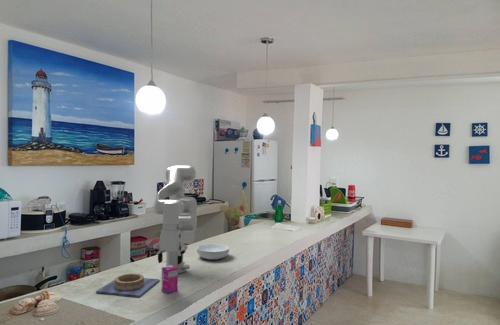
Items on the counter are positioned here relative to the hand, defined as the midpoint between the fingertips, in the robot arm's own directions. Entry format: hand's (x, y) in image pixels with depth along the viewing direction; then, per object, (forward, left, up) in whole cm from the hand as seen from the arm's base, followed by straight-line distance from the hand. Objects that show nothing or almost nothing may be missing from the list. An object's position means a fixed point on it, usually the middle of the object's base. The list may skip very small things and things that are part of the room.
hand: (169, 262), depth 178 cm
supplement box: (0, -1, -14) cm, 14 cm away
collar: (+21, -1, -14) cm, 25 cm away
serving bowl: (-5, -60, -14) cm, 61 cm away
